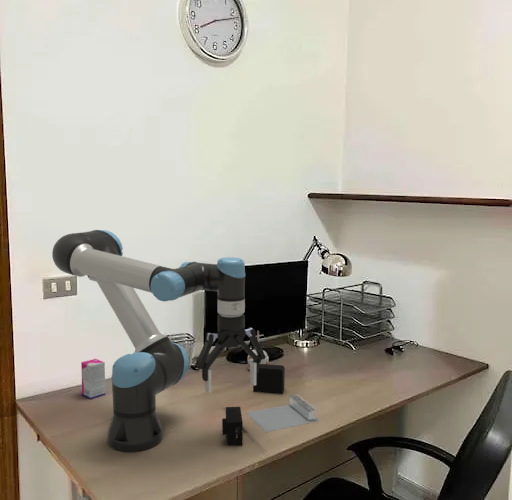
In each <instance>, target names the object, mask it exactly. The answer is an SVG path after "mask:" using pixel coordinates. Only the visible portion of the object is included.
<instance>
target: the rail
mask: <svg viewBox="0 0 512 500" xmlns="http://www.w3.org/2000/svg"><path fill="white" fill-rule="evenodd" d="M289 405H290V407H291V408H293V409H294V410H295V411H296V412H297V413H299V414H300V415H301V416H302V417H304V418H305V419H306V420H307V421H313V420H317V418H318V417H317V416H316V415H315V412H317V410H318V409H317V407H316V406H314V405H313V404H311V402H309V401H308V400H306V399H305V398H304V397H302V396H301V395H299V394H298V393H297V394H296V393H295V394H291V395H289Z"/></svg>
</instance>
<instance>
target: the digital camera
mask: <svg viewBox="0 0 512 500" xmlns="http://www.w3.org/2000/svg"><path fill="white" fill-rule="evenodd" d="M241 410H242V409H241V406H225V418H222V420H221V422H222V423H221V428H222V429H221V430H222V436H225V437H226V447H236V446H237V447H238V446H239V447H240V446H241V447H242V446H243V443H244V442H243V441H244V438H243V436H244V435H243V432H244V431H243V426H244V425H243V423H244V422H243V415H242V411H241Z"/></svg>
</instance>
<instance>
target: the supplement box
mask: <svg viewBox="0 0 512 500" xmlns="http://www.w3.org/2000/svg"><path fill="white" fill-rule="evenodd" d="M105 367H106V365H105V362H104V361H102V360H100V359H97V358H93V359H89V360H85V361H82V362H81V368H80V369H81V396H83V397H86V398H88V399H89V400H93V399H95V398H99V397H102V396H105V395H106V370H105V369H106V368H105Z"/></svg>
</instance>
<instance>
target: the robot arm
mask: <svg viewBox="0 0 512 500" xmlns="http://www.w3.org/2000/svg"><path fill="white" fill-rule="evenodd" d="M123 250H124V247H123V243H122V241H121V240H120V238H119V237H118V236H117V234H115V233H113V232H111V231H110V230H106V229H105V230H104V229H103V230H102V229H93V230H89V231H84V232H76V233H74V232H73V233H68V234H64V235H63V236H61V237H60V238H59V239H58V240H57V241H56V242H55V244H54V245H53V247H52V253H51V254H52V260H53V262H54V265H55V267H57V269H59V270H60V271H61V272H63V273H66V274H68V275H70V276H71V275H72V276H74V277H81V278H83V277H85V276H87V278H88V280H90V281H92V282H96V283H97V285H98V287H99V288H100V290H101V292H102V294H103V295H104V297H105V299H106V300H107V302H108V304H109V306H110V307H111V309H112V310H113V312H114V314H115V316H116V317H117V319H118V321H119V323H120V325H121V326H122V329H123V330H124V332H125V333H126V335H127V336H128V339H129V340H130V342H131V343H132V345H133V347H134V352H132V353H127V354H124V355H122V356H120V357H119V358H117V359H116V361H114V363H113V365H112V368H111V369H112V373H111V384H112V385H111V387H112V388H111V389H112V406H113V410H112V411H113V412H112V413H113V414H112V418H111V422H110V424H109V427H108V431H107V444H108V446H109V447H110V448H111V449H114V450H117V451H120V452H131V453H132V452H139V451H145V450H149V449H151V448H153V447H155V446H156V445H158V444H159V443H161V441H162V440H163V436H164V435H163V426H162V424H161V421H160V419H159V415H158V412H157V403H156V401H157V399H156V397H157V395H158V394H160V393H161V392H163V391H165V390H166V389H168V388H170V387H172V386H175V385H176V384H178V383H179V382H180V381H181V380H183V379H184V377H185V376H186V375H187V374H188V371H189V365H190V362H189V360H190V359H189V356H188V353H187V351H186V349H185V348H184V347H183V346H182V345H181V344H178V343H176V342H172V340H171V339H170V338H169V335H167V334H162V333H161V332H160V330H159V329H158V328H157V325H156V324H155V322H154V320H153V318H152V317H151V315H150V314H149V312H148V310H147V309H146V306H145V305H144V304H143V302H142V300H141V299H140V296H139V295H138V293H137V292H136V290H140V291H145V292H148V293H151V294H152V295H153V297H155V298H156V299H157V300H159V302H169V301H170V302H172V301H175V300H178V299H179V298H183V297H184V296H185V297H186V296H188V295H191V294H193V293H196V292H199V291H208V292H210V291H211V292H217V293H216V295H217V332H216V333H211V332H210V331H209V332H207V333H206V335H205V342H204V344H203V345H202V348H201V350H200V353H199V354H198V357H197V359H196V361H195V364H194V365H195V367H197V368H198V369H199V370H201V375H202V376H201V378H202V380H203V381H204V382H205V383H204V385H205V391H206V392H207V393H208V394H212V369H211V368H210V367H211V366H212V365H213V364H214V362H215V361H216V360H217V359H218V357H219V356H220V355H221V353H222V352H223V351H224V350H225V349H230V348H238V347H239V346H240V347H241V348H242V349H243V350H244V351H245V353H247V355H250V357H251V358H252V359H253V360H251V361H250V370H249V383H250V384H251V385H252V386H253V385H254V386H255V385H256V373H259V363H261V360H262V359H265V358H266V356H265V354H264V352H263V351H264V349H263V348H262V346H261V344H260V341H259V342H258V340H257V335H256V334H257V332H256V329H254V328H252V326H251V327H250V326H249V327H248V328H247V329H245V327H246V323H245V322H246V318H245V317H246V315H245V314H244V313H245V312H246V311H245V309H246V302H245V301H246V297H245V296H246V295H245V294H246V293H245V289H246V288H245V287H246V285H245V284H246V270H245V266H246V265H245V261H244V259H242V258H240V257H233V256H231V257H230V256H226V257H220V258H218V259H217V263H216V264H214V263H208V262H207V263H205V262H197V261H185V262H182V264H181V265H179V267H178V268H171V267H167V266H162V265H158V264H154V263H151V262H147V261H142V260H138V259H134V258H132V257H131V258H130V257H126V256H123V253H124V252H123ZM135 289H136V290H135ZM246 336H247V337H248V338H249V340H250V342H251V344H252V346H253V348H254V350H256V352H257V354H258V355H257V356H256V354H255V353H254V352H253V351H252V350H253V349H251V348H250V347H249V345H248V344H247V343H246V342H245V340H244V339H245V337H246ZM216 339H217V342H216V343H215V345H214V347H213V344H214V342H215V341H216ZM212 347H213V349H212ZM211 350H212V351H211Z"/></svg>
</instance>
